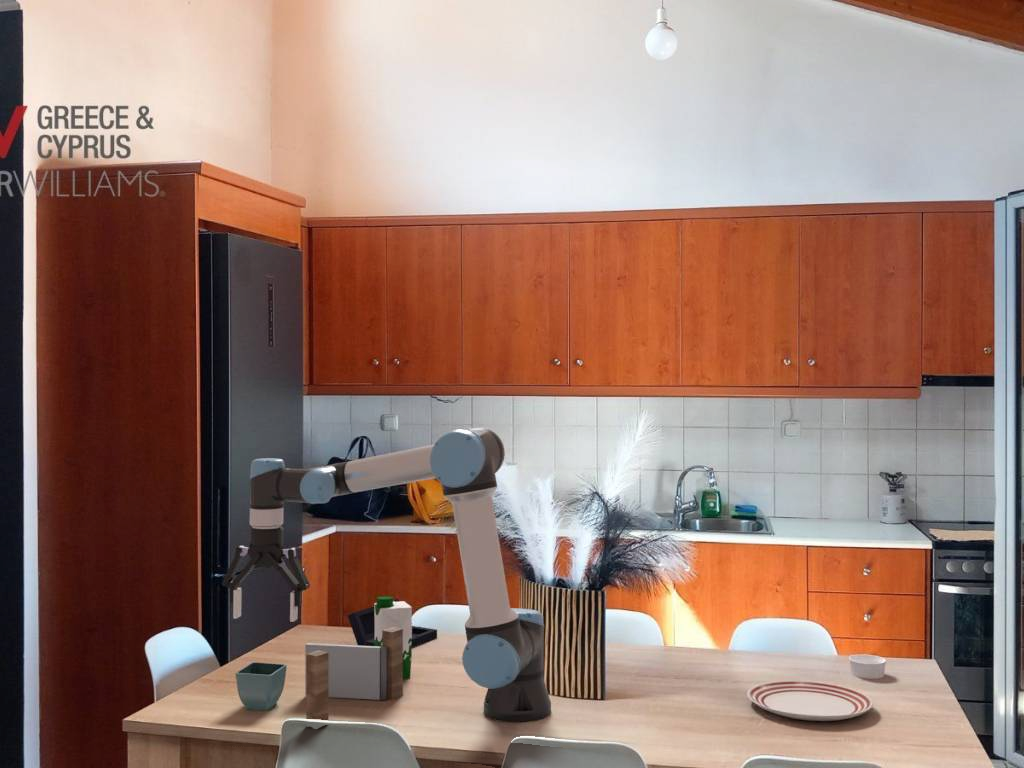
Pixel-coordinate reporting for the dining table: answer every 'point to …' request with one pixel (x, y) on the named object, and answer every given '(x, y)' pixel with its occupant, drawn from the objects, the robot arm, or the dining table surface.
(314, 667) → the door frame
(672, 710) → the dining table surface
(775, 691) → the dinner plate
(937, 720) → the dining table surface
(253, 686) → the flower pot
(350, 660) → the door
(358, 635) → the storage box
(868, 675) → the ramekin
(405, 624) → the milk carton
